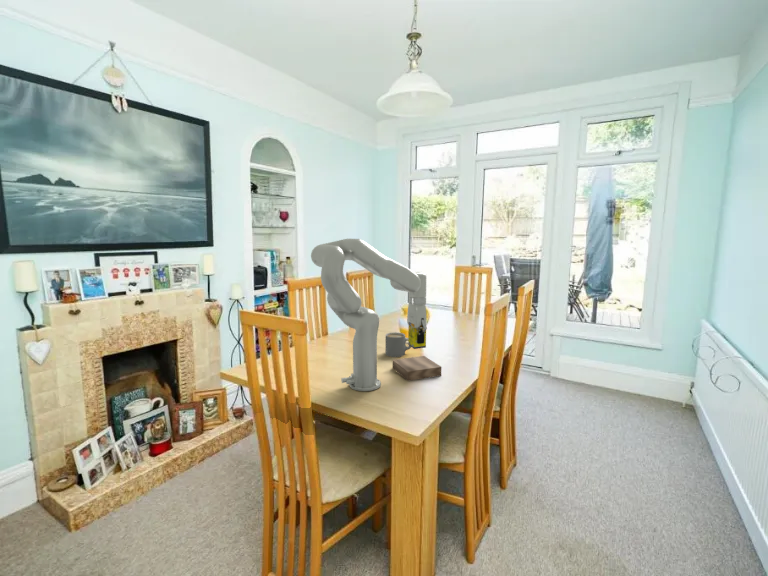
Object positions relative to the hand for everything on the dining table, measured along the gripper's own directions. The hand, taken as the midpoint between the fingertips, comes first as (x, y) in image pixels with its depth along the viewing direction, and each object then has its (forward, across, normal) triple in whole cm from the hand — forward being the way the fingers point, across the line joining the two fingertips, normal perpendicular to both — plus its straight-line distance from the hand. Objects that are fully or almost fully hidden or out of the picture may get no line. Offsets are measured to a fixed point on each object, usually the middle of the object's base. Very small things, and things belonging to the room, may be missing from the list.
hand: (417, 340), depth 166 cm
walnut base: (+14, 0, 0) cm, 14 cm away
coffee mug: (+14, -26, +3) cm, 30 cm away
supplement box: (+3, 0, 0) cm, 3 cm away
